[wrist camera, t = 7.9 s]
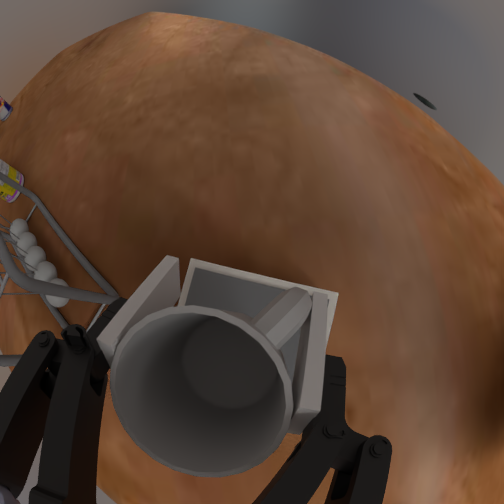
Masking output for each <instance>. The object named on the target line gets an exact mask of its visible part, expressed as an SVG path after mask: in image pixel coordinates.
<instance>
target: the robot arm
mask: <svg viewBox="0 0 504 504" xmlns="http://www.w3.org/2000/svg"><path fill="white" fill-rule="evenodd" d="M180 296H181V292H180V272H179V258H176V257H172V256H168V255H167V256H166V257H165V258H164V259H163V260H162V261H161V262H160V263H159V264H158V266H157V267H156V268H155V269H154V270H153V271H152V272H151V274H150V275H149V276H148V277H147V278H146V279H145V280H144V282H143V283H142V284H141V285H140V286H139V287H138V289H137V290H136V291H135V292H134V293H133V294H132V296H131V297H130V298H129V299H128V300H127V299H124V298H122V297H120V298H118V299H117V300H115V301H113V302H112V303H111V304H110V305H109V306H108V308H107V309H106V310H105V311H104V312H103V313H102V316H100V317H99V318H98V319H97V321H96V322H95V323H94V324H93V325H92V327H91V328H90V329H89V330H88V331H87V333H86V330H85V328H84V327H82V326H81V325H78V324H72V325H69V326H67V327H66V328H64V329H63V331H62V332H61V336H62V337H63V339H64V340H61V339H56V338H55V336H54V334H53V333H52V332H51V331H47V330H45V331H41V332H39V333H38V334H37V335H36V336H35V337H34V339H33V340H32V342H31V343H30V344H29V346H28V347H27V349H26V350H25V352H24V354H23V355H22V357H21V358H20V360H19V361H18V363H17V365H16V366H15V368H14V369H13V371H12V373H11V374H10V376H9V378H8V380H7V382H6V383H5V385H4V387H3V388H2V390H1V392H0V504H20V502H19V501H18V500H17V499H16V498H17V497H18V496H19V495H20V493H21V491H22V490H23V488H24V485H25V483H26V480H27V477H28V474H29V472H30V469H31V466H32V463H33V461H34V458H35V456H36V453H37V450H38V448H39V445H40V443H41V441H42V438H43V442H42V449H41V456H40V464H39V476H38V484H37V485H36V486H35V487H33V488H32V489H31V491H30V494H29V504H96V477H97V459H98V446H99V436H100V427H101V419H102V412H103V405H104V398H105V392H106V386H107V381H108V375H107V372H108V370H109V369H111V364H112V361H113V358H114V355H115V352H116V350H117V347H118V345H119V343H120V342H121V340H122V339H123V338H124V336H125V335H126V333H127V332H128V331H129V329H130V328H131V327H133V326H134V325H135V324H137V323H138V322H139V321H141V320H142V319H143V318H145V317H146V316H147V315H150V314H152V313H155V312H157V311H160V310H163V309H165V308H168V307H173V306H174V305H175V303H176V302H177V300H178V299H179V297H180ZM311 301H312V304H313V305H312V307H311V310H310V312H309V315H308V317H307V319H306V320H305V322H304V323H303V324H302V326H301V330H300V337H299V344H298V350H297V357H296V363H295V369H294V375H293V381H292V396H293V405H294V406H293V412H292V417H291V421H290V426H289V429H288V431H287V433H292V434H298V435H300V434H301V433H302V432H303V433H302V439H301V441H300V442H299V443H298V444H297V445H296V446H295V449H294V451H293V452H292V453H291V455H290V456H289V458H288V459H287V460H286V462H285V463H284V465H283V466H282V467H281V469H280V470H279V471H278V473H277V474H276V475H275V476H274V478H273V479H272V480H271V482H270V483H269V484H268V485H267V486H266V488H265V489H264V490H263V491H262V493H261V494H260V495H259V496H258V497H257V498H256V500H255V501H254V502H253V503H252V504H307V503H308V501H309V500H310V499H311V497H312V496H313V494H314V493H315V491H316V490H317V488H318V487H319V485H320V484H321V482H322V480H323V479H324V477H325V476H326V474H327V472H328V471H329V469H330V467H331V468H334V469H335V472H334V475H333V479H332V482H331V485H330V488H329V491H328V494H327V498H326V500H325V503H324V504H382V502H383V498H384V493H385V489H386V484H387V479H388V474H389V468H390V462H391V455H392V445H391V443H390V441H389V440H388V439H387V438H386V437H384V436H381V435H374V436H372V437H370V438H369V437H366V436H364V435H361V434H359V433H357V432H355V431H353V430H352V429H351V428H350V427H349V426H348V425H347V423H346V421H345V393H346V387H345V386H346V366H345V364H344V361H343V359H342V357H336V356H331V355H325V352H326V333H327V305H328V294H324V293H320V292H315V291H313V294H312V297H311ZM47 367H48V369H47ZM46 369H47V370H46Z"/></svg>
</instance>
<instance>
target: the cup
mask: <svg viewBox="0 0 504 504" xmlns="http://www.w3.org/2000/svg"><path fill="white" fill-rule="evenodd" d="M312 305H313V304H312V301H311V298H310V296H309V293H308V291H306V290H304V289H301V288H299V287H296V286H295V287H292V288H290V289H288V290H285V291H283V292H281V293H280V294H279V295H278V296H277V297H275V298H274V299H273V300H272V301H271V302H270V303H269V304H268V305H267V306H266V307H265V308H264V309H263V310H261V311H260V312H259V313H258V314H257V315H256V316H255V317H254V318H252V317H249V316H247V315H245V314H243V313H238V312H231V311H225V310H218V309H212V308H206V307H201V306H195V305H189V306H177V307H168V308H165V309H163V310H160V311H157V312H155V313H152V314H150V315H147V316H146V317H145V318H143V319H142V320H141V321H139V322H138V323H137V324H135V325H134V326H133V327H131V328H130V329H129V331H128V332H127V333H126V335H125V336H124V338H123V339H122V340H121V342H120V343H119V345H118V347H117V350H116V352H115V355H114V358H113V361H112V364H111V373H110V390H111V395H112V401H113V405H114V408H115V411H116V413H117V415H118V417H119V420H120V422H121V424H122V426H123V428H124V429H125V430H126V432H127V433H128V434H129V436H130V437H131V438H132V440H133V441H134V442H135V443H136V445H137V446H139V447H140V448H141V449H142V450H143V451H144V452H146V453H147V454H148V455H149V456H150V457H152V458H153V459H154V460H156V461H158V462H160V463H161V464H163V465H165V466H167V467H169V468H171V469H173V470H175V471H179V472H182V473H186V474H190V475H193V476H200V477H224V476H229V475H234V474H239V473H242V472H245V471H247V470H249V469H251V468H253V467H255V466H257V465H259V464H261V463H262V462H263V461H264V460H266V459H267V458H268V457H269V456H270V455H271V454H272V453H273V452H274V451H275V450H276V449H277V448H278V447H279V445H280V444H281V442H282V440H283V438H284V437H285V435H286V433H287V431H288V429H289V426H290V421H291V417H292V412H293V406H294V405H293V396H292V386H291V380H290V377H289V373H288V370H287V367H286V363H285V360H284V356H283V353H282V351H281V349H280V348H281V347H282V346H283V345H284V344H285V343H286V342H287V341H288V340H289V339H290V338H291V337H292V336H293V335H294V334H295V333H296V332H297V330H298V329H299V328H300V327H301V326H302V324H303V323H304V322H305V320H306V319H307V317H308V315H309V312H310V310H311V307H312Z"/></svg>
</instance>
